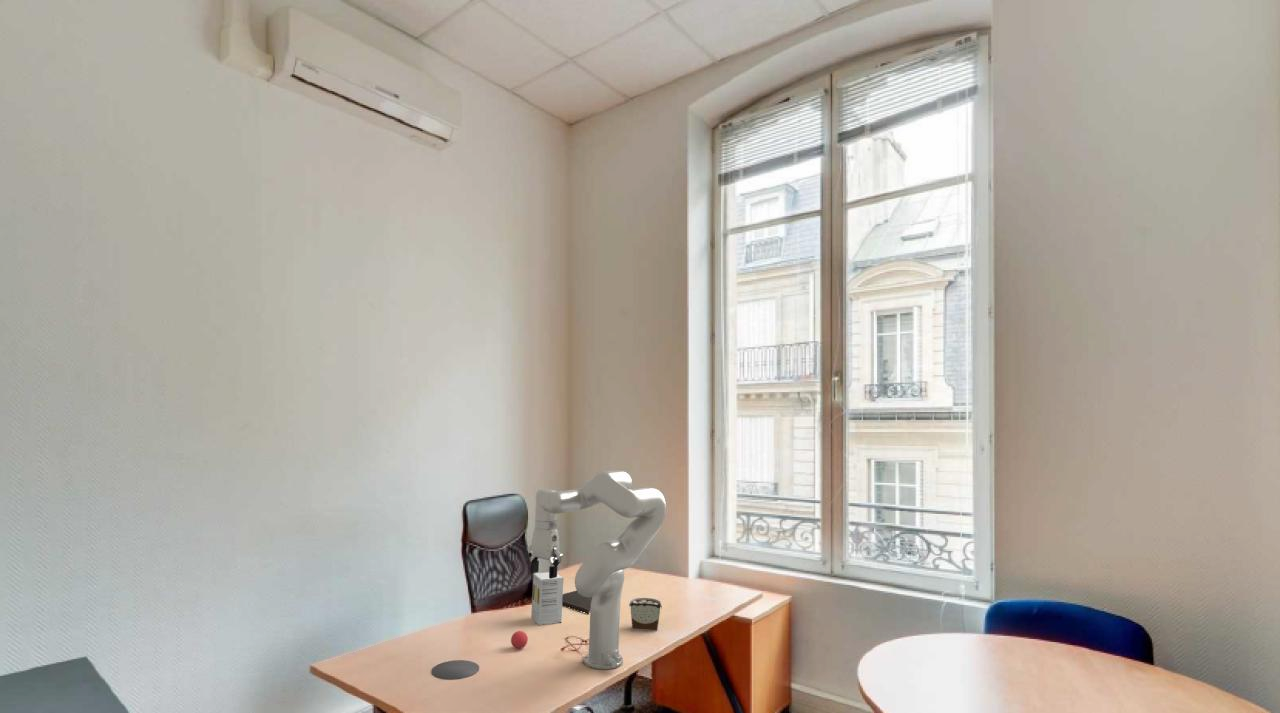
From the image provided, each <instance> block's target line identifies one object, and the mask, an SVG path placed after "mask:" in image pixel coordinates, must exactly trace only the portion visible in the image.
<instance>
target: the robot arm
mask: <svg viewBox="0 0 1280 713" xmlns="http://www.w3.org/2000/svg"><path fill="white" fill-rule="evenodd" d="M632 486H633V480H632V478H631V476H630V474H629V473H628V472H626V471H624V470H620V469H619V470H618V469H617V470H605V471H600V472H598V473H596V474H595V475H593V477H592V478H590V479H587V480H586V481H585V482H584V484H583V486H581V487H578V488H575V489H566V490H565V489H564V490H559V491H558V490H556V489H551V488H542V489H541V488H540V489H538V490H537V491H536V493H535V494H536V495H535V514H534V515H535V517H534V529H533V533H532V538H531V539H532V540H531V544H530V545H529V546H527V547H526V548H527V549H526V550H527V553H528V557H529V561H530V574H535V573H539V570H540V568H539V566H540V560H539V559H543V560H546V561H548V563H549V564H550V566H549V569H548V572H549V578H550V579H551V578H555V577H557V574H558V566H559V565H560V563H561V562H562V559H563V556H564V555H563V553H562V552H561V551H560V537H559V530H558V529H557V528H558V522H557V520H558V519H557V518H558V517H557V516H558V515H559V514H560V515H561V514H565V513H573V512H579V511H581V510H585V509H587V508H591V507H594V506H597V505H599V504H604V505H606V506H607V507H608V508H610V509H611V510H612V511H613V512H614V513H616V514H617V515H620V516H621V517H623V518H628V519H632V518H634V519H633V520H632V521H631V522H630V523H628V525H627V526H626V528H625V529H624V530H623V532H622V533H621V534H620V535H619V536H617V537H616V538H613V539H609V540H605V541H603V542H600V543H598V544H597V545H596V546H595V547H594V548H593V549H592V551H590V553H589V554H588V555H587V557H586V558H585V559H584V561H583V563H582V564H581V565H580V566H579V568H578V570H577V572H576V573H575V578H574V586H575V591H578V593H579V594H580V595H582V596H585V597H592V601H591V609H590V614H589V633H588V634H589V636H588V637H589V638H588V640H589V642H588V653H586V654H585V655H584V656H583V663H584V665H586V666H587V667H589V668H591V667H592V669H595V668H596V669H597V670H611V669H616V668H619V667H620V666H621V665H622V664H623V662H624V658H623V656H622V655H621V654H620V651H619V647H620V646H619V643H620V617H621V616H620V615H621V602H622V601H621V600H622V599H621V598H622V592H623V587H624V583H625V572H624V570H625V569H628V568H630V567H632V566H633V565H634V563H635V562H636V561H637V560H638V558H639V557H640V556H641V555H642V553H643V551H644V550H645V549H646V548H647V547H648V545H649V544H650V542H651V541H652V540H653V538H654V537H655V536H656V535H657V534H658V532H659V531H660V529H661V527H662V526H663V524H664V523H665V522H664V521H665V519H666V516H667V503H666V499H665V496H664V495H663V493H662V492H661V491H660V490H659V489H657V488H654V487H650V486H649V487H647V486H646V487H637V488H632ZM596 669H595V670H596Z"/></svg>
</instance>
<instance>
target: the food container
mask: <svg viewBox="0 0 1280 713" xmlns="http://www.w3.org/2000/svg"><path fill="white" fill-rule="evenodd" d="M628 604H629V605H628V607H629V608H630V615H631V616H630V617H631V629H632V630H636V629H638V630H639V631H650V630H654V631H653V632H658V630H659V629H658V628H659V620H660V615H661V614H660V613H661V609H663V607H662V602H661V601H660V600H658V599H655V598H650V597H636V598H633V599H631V600H630V602H629V603H628Z"/></svg>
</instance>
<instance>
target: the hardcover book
mask: <svg viewBox="0 0 1280 713" xmlns="http://www.w3.org/2000/svg"><path fill="white" fill-rule="evenodd" d="M591 601H592V597H585V596H582V595H580V594H579V593H578V591H577V590H574V591H570V592H569V591H568V592H566V593H563V597H562V605H563V606H562V607H565V606H566V607H565V608H568V607H570V608H569V609H571V608H573V609H572V610H574V609H575V610H574V611H577V610H579V611H578V612H580V611H582V612H581V613H583V612H585V613H584V614H586V613H587V614H586V615H590V614H589V613H590V609H591Z"/></svg>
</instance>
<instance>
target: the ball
mask: <svg viewBox="0 0 1280 713" xmlns="http://www.w3.org/2000/svg"><path fill="white" fill-rule="evenodd" d="M510 643H511V645H512V647H513V648H515V649H518V650H521V649H523V648H524V647H525V646H526V645H527V643H528V635H527V633H526V632H524V631H523V630H517V631H515V632H514V633H513V634H512V636H511V638H510Z"/></svg>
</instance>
